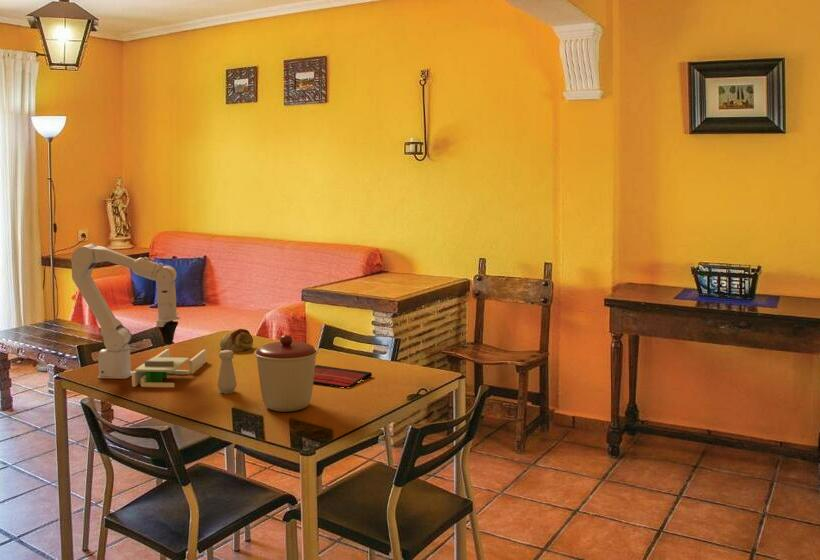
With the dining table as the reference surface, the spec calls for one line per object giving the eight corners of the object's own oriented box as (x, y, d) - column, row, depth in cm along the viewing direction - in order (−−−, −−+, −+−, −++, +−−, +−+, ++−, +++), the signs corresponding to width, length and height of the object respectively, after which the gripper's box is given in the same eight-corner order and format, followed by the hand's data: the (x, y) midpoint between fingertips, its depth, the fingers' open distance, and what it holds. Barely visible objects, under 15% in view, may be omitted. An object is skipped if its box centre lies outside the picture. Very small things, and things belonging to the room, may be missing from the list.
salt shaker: (219, 396, 235) (218, 353, 233) (215, 391, 240) (214, 349, 238) (239, 393, 238) (238, 351, 236) (234, 388, 243) (233, 347, 241)
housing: (132, 386, 244) (131, 372, 244) (167, 361, 275) (166, 348, 275) (176, 387, 244) (176, 373, 243) (206, 362, 275) (206, 349, 274)
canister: (242, 412, 220) (241, 338, 217) (276, 394, 237) (274, 326, 234) (299, 420, 214) (298, 344, 211) (329, 401, 231) (329, 331, 228)
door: (134, 371, 244) (134, 364, 243) (153, 358, 259) (152, 352, 259) (173, 371, 243) (172, 365, 243) (188, 359, 259) (188, 353, 258)
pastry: (244, 354, 288) (243, 332, 286) (213, 351, 290) (212, 330, 289) (260, 345, 301) (259, 325, 300) (230, 343, 304) (229, 323, 303)
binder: (317, 364, 266) (372, 371, 258) (317, 370, 267) (372, 378, 258) (291, 377, 252) (348, 385, 243) (291, 384, 252) (348, 393, 244)
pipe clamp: (158, 385, 247) (157, 371, 246) (146, 385, 247) (145, 371, 246) (170, 375, 258) (169, 362, 257) (159, 375, 258) (158, 361, 257)
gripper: (171, 307, 247) (173, 349, 249) (186, 299, 261) (187, 339, 263) (149, 307, 247) (151, 349, 249) (165, 299, 262) (167, 339, 264)
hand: (168, 344), depth 256 cm, fingers closed
